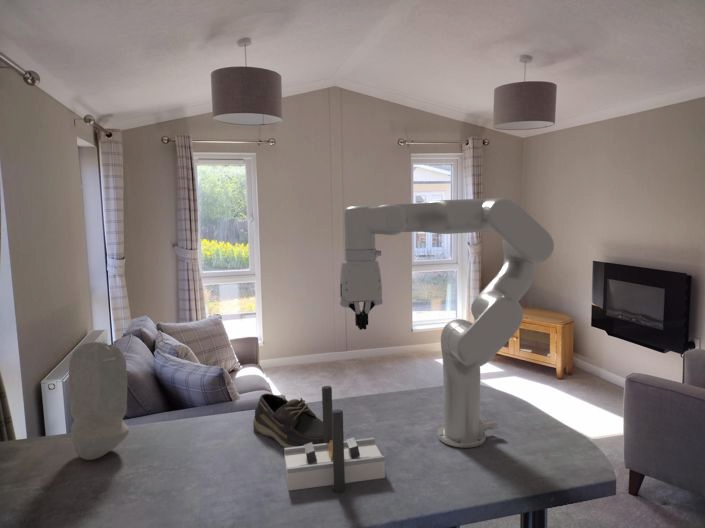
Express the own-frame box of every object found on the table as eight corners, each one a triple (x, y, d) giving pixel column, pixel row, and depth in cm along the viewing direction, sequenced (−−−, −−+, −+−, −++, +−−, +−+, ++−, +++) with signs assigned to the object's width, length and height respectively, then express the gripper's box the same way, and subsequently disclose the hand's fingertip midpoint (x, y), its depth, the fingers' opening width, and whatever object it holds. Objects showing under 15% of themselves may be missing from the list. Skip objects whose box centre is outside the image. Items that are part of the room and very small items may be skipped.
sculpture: (62, 471, 123) (51, 350, 119) (77, 448, 134) (67, 337, 131) (129, 463, 126) (120, 345, 122) (138, 441, 137) (130, 333, 134)
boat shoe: (319, 463, 124) (317, 421, 123) (240, 432, 142) (238, 395, 141) (347, 446, 133) (346, 406, 131) (269, 419, 150) (267, 384, 149)
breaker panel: (374, 456, 126) (373, 437, 126) (384, 477, 116) (384, 457, 116) (285, 467, 122) (284, 448, 121) (288, 490, 112) (287, 469, 111)
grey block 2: (356, 446, 122) (353, 437, 121) (360, 455, 118) (357, 445, 117) (348, 449, 122) (345, 439, 121) (351, 458, 117) (349, 448, 117)
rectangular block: (336, 450, 121) (338, 440, 121) (339, 459, 117) (341, 449, 116) (328, 450, 121) (329, 440, 120) (331, 459, 116) (333, 448, 116)
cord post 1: (332, 454, 128) (330, 385, 126) (334, 459, 125) (332, 388, 123) (323, 455, 127) (321, 386, 125) (324, 460, 125) (322, 389, 123)
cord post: (343, 486, 113) (341, 408, 111) (345, 492, 111) (343, 413, 109) (333, 488, 113) (330, 410, 111) (335, 493, 110) (332, 414, 108)
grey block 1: (314, 451, 120) (312, 442, 120) (317, 460, 116) (314, 450, 115) (306, 454, 120) (303, 444, 119) (308, 463, 115) (305, 453, 115)
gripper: (385, 253, 132) (386, 323, 134) (328, 256, 129) (330, 327, 131) (393, 256, 124) (394, 329, 126) (333, 259, 121) (335, 334, 123)
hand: (361, 328), depth 129 cm, fingers closed
